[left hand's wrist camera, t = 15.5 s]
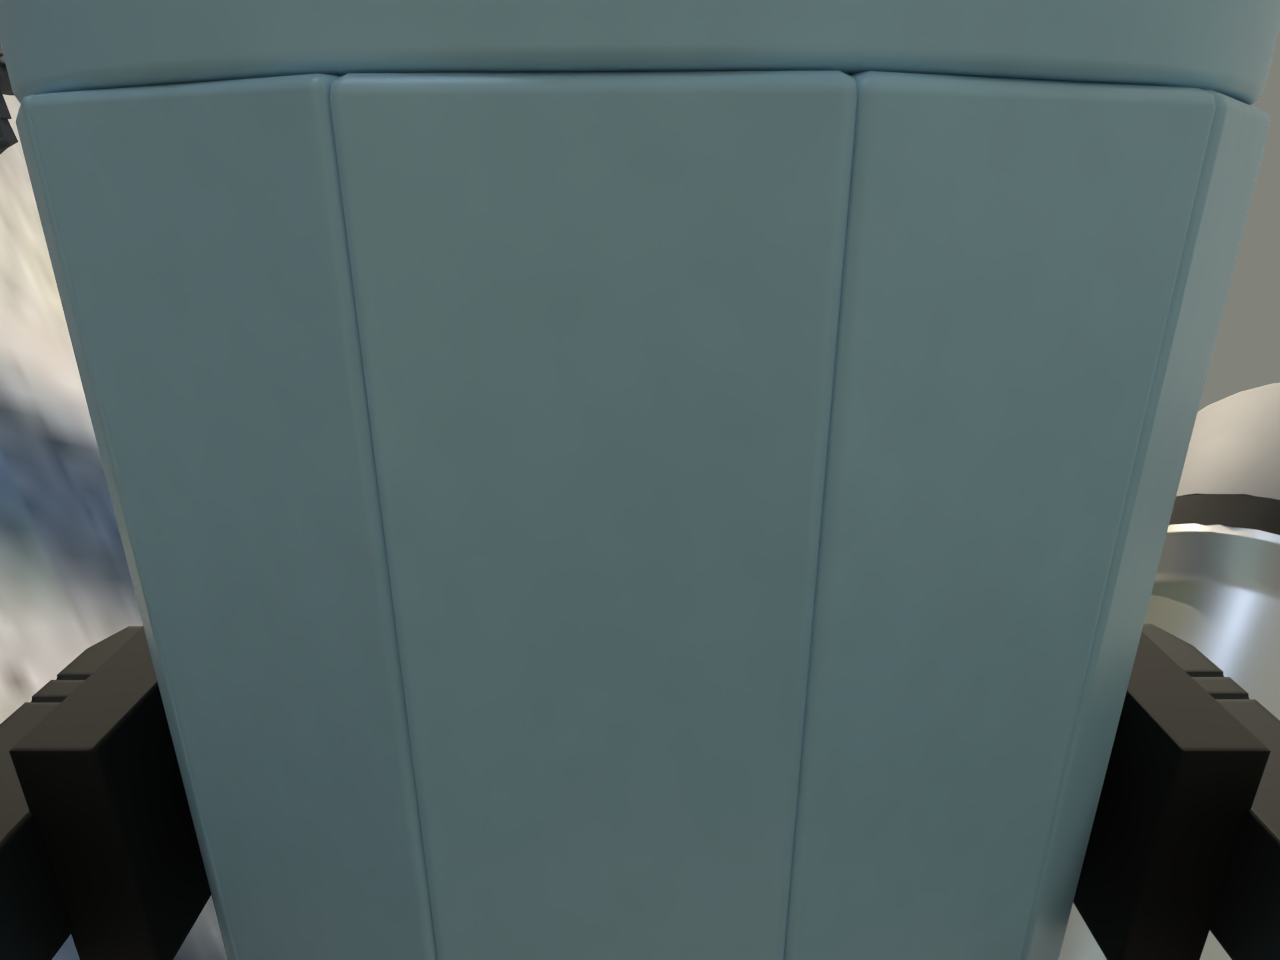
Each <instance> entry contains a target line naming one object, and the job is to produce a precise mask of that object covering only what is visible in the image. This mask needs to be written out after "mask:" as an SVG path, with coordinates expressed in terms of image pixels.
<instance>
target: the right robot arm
mask: <svg viewBox="0 0 1280 960" xmlns="http://www.w3.org/2000/svg"><path fill="white" fill-rule="evenodd" d="M1144 624H1153V625H1155V626H1157V627H1159V628H1161V629H1163V630H1164V631H1166V632H1168V633H1170V634H1172V635H1174V636H1176V637H1178V638H1180V639H1181V640H1183V641H1185V642H1187V643H1189V644H1191V645H1193V646H1194V647H1195V648H1196V649H1198V650H1199V651H1200V652H1201V653H1202V654H1203V655H1205V656H1206V657H1207V658H1208V659H1209V660H1210V661H1212V662H1213V663H1214V664H1215V665H1216V666H1217V667H1218V668H1220V669H1221V670H1222V671H1223V675H1224V677H1230V678H1231V679H1232V680H1233V681H1235V682H1236V683H1237V684H1238V685H1239V686H1240V687H1242V688H1243V689H1244V690H1245V691H1246V692H1247V693H1249V699H1255V700H1257V701H1258V702H1259V703H1260V704H1261V705H1262V706H1264V707H1265V708H1266V709H1267V710H1268V711H1269V712H1270V713H1272V714H1273V715H1274V716H1275V717H1276V718H1277V719H1279V720H1280V383H1274V384H1269V385H1265V386H1262V387H1258V388H1254V389H1250V390H1246V391H1242V392H1239V393H1236V394H1234V395H1232V396H1229V397H1227V398H1225V399H1222V400H1220V401H1217V402H1215V403H1213V404H1210V405H1208V406H1207V407H1205V408H1204V409H1202V410H1200V411H1199V412H1197V416H1196V420H1195V424H1194V428H1193V432H1192V436H1191V439H1190V443H1189V447H1188V451H1187V455H1186V459H1185V463H1184V467H1183V471H1182V475H1181V479H1180V483H1179V487H1178V491H1177V495H1176V499H1175V503H1174V506H1173V510H1172V514H1171V518H1170V522H1169V526H1168V530H1167V534H1166V538H1165V542H1164V546H1163V550H1162V554H1161V558H1160V562H1159V566H1158V570H1157V573H1156V577H1155V581H1154V585H1153V589H1152V593H1151V597H1150V601H1149V605H1148V609H1147V613H1146V617H1145V621H1144ZM1059 960H1107V959H1106V957H1105V956H1104V954H1103V952H1102V951H1101V949H1100V947H1099V945H1098V944H1097V942H1096V940H1095V939H1094V937H1093V935H1092V934H1091V932H1090V930H1089V928H1088V927H1087V925H1086V923H1085V922H1084V920H1083V918H1082V917H1081V915H1080V913H1079V911H1078V910H1077V908H1076V906H1075V905H1074V903H1073V904H1072V908H1071V912H1070V916H1069V920H1068V924H1067V928H1066V932H1065V936H1064V940H1063V944H1062V948H1061V952H1060V956H1059ZM1200 960H1232V959H1231V958H1230V957H1229V955H1228V954H1227V953H1226V951H1225V950H1224V949H1223V947H1222V946H1221V945H1220V943H1219V942H1218V940H1217V939H1216V938H1215V936H1214V935H1213V934H1212V932H1211V931H1209V934H1208V937H1207V939H1206V942H1205V945H1204V948H1203V951H1202V954H1201V957H1200Z"/></svg>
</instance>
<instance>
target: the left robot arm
mask: <svg viewBox="0 0 1280 960" xmlns="http://www.w3.org/2000/svg"><path fill="white" fill-rule="evenodd" d="M210 896H211V891H210V887H209V883H208V879H207V875H206V871H205V867H204V863H203V859H202V855H201V851H200V847H199V843H198V839H197V835H196V832H195V828H194V824H193V820H192V816H191V812H190V808H189V804H188V800H187V796H186V792H185V788H184V784H183V780H182V776H181V772H180V768H179V764H178V760H177V756H176V753H175V749H174V745H173V741H172V737H171V733H170V729H169V725H168V721H167V717H166V713H165V709H164V705H163V701H162V697H161V693H160V689H159V685H158V681H157V678H156V674H155V670H154V666H153V662H152V658H151V654H150V650H149V646H148V642H147V638H146V634H145V630H144V626H143V627H127V628H125V629H123V630H121V631H119V632H118V633H116V634H114V635H112V636H110V637H108V638H106V639H104V640H103V641H101V642H99V643H97V644H95V645H93V646H91V647H90V648H88V649H86V650H85V651H84V652H83V653H82V654H81V655H79V656H78V657H77V658H76V659H75V660H74V661H73V662H71V663H70V664H69V665H68V666H67V667H66V668H64V669H63V670H62V671H61V672H60V673H59V674H58V675H57V680H51V681H50V682H48V683H47V684H46V685H45V686H44V687H43V688H42V689H40V690H39V691H38V692H37V693H36V694H35V695H34V696H32V701H31V703H24V704H23V705H22V706H21V707H20V708H19V709H17V710H16V711H15V712H14V713H13V714H12V715H11V716H9V717H8V718H7V719H6V720H5V721H4V722H3V723H1V724H0V960H52V958H53V957H54V956H55V954H56V953H57V952H58V950H59V949H60V947H61V946H62V945H63V943H64V942H65V941H66V939H67V938H68V937H69V935H70V934H72V937H73V940H74V943H75V946H76V949H77V952H78V955H79V958H80V960H173V959H174V957H175V955H176V954H177V952H178V950H179V948H180V947H181V945H182V943H183V942H184V940H185V938H186V937H187V935H188V933H189V931H190V930H191V928H192V926H193V925H194V923H195V921H196V920H197V918H198V916H199V914H200V913H201V911H202V909H203V908H204V906H205V904H206V903H207V901H208V899H209V898H210ZM1073 903H1074V905H1075V906H1076V908H1077V910H1078V911H1079V913H1080V915H1081V917H1082V918H1083V920H1084V922H1085V923H1086V925H1087V927H1088V928H1089V930H1090V932H1091V934H1092V935H1093V937H1094V939H1095V940H1096V942H1097V944H1098V945H1099V947H1100V949H1101V951H1102V952H1103V954H1104V956H1105V957H1106V959H1107V960H1200V957H1201V954H1202V951H1203V948H1204V945H1205V942H1206V939H1207V937H1208V934H1209V931H1211V932H1212V934H1213V935H1214V936H1215V938H1216V939H1217V940H1218V942H1219V943H1220V945H1221V946H1222V947H1223V949H1224V950H1225V951H1226V953H1227V954H1228V955H1229V957H1230V958H1231V959H1232V960H1280V720H1279V719H1277V718H1276V717H1275V716H1274V715H1273V714H1272V713H1270V712H1269V711H1268V710H1267V709H1266V708H1265V707H1264V706H1262V705H1261V704H1260V703H1259V702H1258V701H1257V700H1255V699H1249V693H1247V692H1246V691H1245V690H1244V689H1243V688H1242V687H1240V686H1239V685H1238V684H1237V683H1236V682H1235V681H1233V680H1232V679H1231V678H1230V677H1224V675H1223V671H1222V670H1221V669H1220V668H1218V667H1217V666H1216V665H1215V664H1214V663H1213V662H1212V661H1210V660H1209V659H1208V658H1207V657H1206V656H1205V655H1203V654H1202V653H1201V652H1200V651H1199V650H1198V649H1196V648H1195V647H1194V646H1193V645H1191V644H1189V643H1187V642H1185V641H1183V640H1181V639H1180V638H1178V637H1176V636H1174V635H1172V634H1170V633H1168V632H1166V631H1164V630H1163V629H1161V628H1159V627H1157V626H1155V625H1153V624H1144V625H1143V629H1142V633H1141V637H1140V640H1139V644H1138V648H1137V652H1136V656H1135V660H1134V664H1133V668H1132V672H1131V676H1130V680H1129V684H1128V688H1127V692H1126V696H1125V700H1124V704H1123V707H1122V711H1121V715H1120V719H1119V723H1118V727H1117V731H1116V735H1115V739H1114V743H1113V747H1112V751H1111V755H1110V759H1109V763H1108V767H1107V770H1106V774H1105V778H1104V782H1103V786H1102V790H1101V794H1100V798H1099V802H1098V806H1097V810H1096V814H1095V818H1094V822H1093V826H1092V830H1091V834H1090V837H1089V841H1088V845H1087V849H1086V853H1085V857H1084V861H1083V865H1082V869H1081V873H1080V877H1079V881H1078V885H1077V889H1076V893H1075V897H1074V901H1073Z"/></svg>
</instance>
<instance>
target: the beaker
mask: <svg viewBox="0 0 1280 960" xmlns="http://www.w3.org/2000/svg"><path fill="white" fill-rule="evenodd" d="M1279 30H1280V0H0V44H1V48H2V52H3V56H4V60H5V64H6V68H7V72H8V76H9V80H10V84H11V88H12V91H13V94H14V95H15V96H16V98H17V99H18V101H19V102H20V104H21V106H20V109H19V112H18V115H17V119H16V125H17V129H18V133H19V137H20V141H21V145H22V148H23V152H24V156H25V160H26V164H27V168H28V172H29V176H30V180H31V184H32V188H33V192H34V196H35V200H36V204H37V208H38V212H39V216H40V220H41V223H42V227H43V231H44V235H45V239H46V243H47V247H48V251H49V255H50V259H51V263H52V267H53V271H54V275H55V279H56V283H57V287H58V291H59V295H60V298H61V302H62V306H63V310H64V314H65V318H66V322H67V326H68V330H69V334H70V338H71V342H72V346H73V350H74V354H75V358H76V362H77V366H78V370H79V374H80V377H81V381H82V385H83V389H84V393H85V397H86V401H87V405H88V409H89V413H90V417H91V421H92V425H93V429H94V433H95V437H96V441H97V445H98V449H99V452H100V456H101V460H102V464H103V468H104V472H105V476H106V480H107V484H108V488H109V492H110V496H111V500H112V504H113V508H114V512H115V516H116V520H117V524H118V527H119V531H120V535H121V539H122V543H123V547H124V551H125V555H126V559H127V563H128V567H129V571H130V575H131V579H132V583H133V587H134V591H135V595H136V599H137V603H138V606H139V610H140V614H141V618H142V622H143V626H144V630H145V634H146V638H147V642H148V646H149V650H150V654H151V658H152V662H153V666H154V670H155V674H156V678H157V681H158V685H159V689H160V693H161V697H162V701H163V705H164V709H165V713H166V717H167V721H168V725H169V729H170V733H171V737H172V741H173V745H174V749H175V753H176V756H177V760H178V764H179V768H180V772H181V776H182V780H183V784H184V788H185V792H186V796H187V800H188V804H189V808H190V812H191V816H192V820H193V824H194V828H195V832H196V835H197V839H198V843H199V847H200V851H201V855H202V859H203V863H204V867H205V871H206V875H207V879H208V883H209V887H210V891H211V895H212V899H213V903H214V907H215V910H216V914H217V918H218V922H219V926H220V930H221V934H222V938H223V942H224V946H225V950H226V954H227V958H228V960H1059V956H1060V952H1061V948H1062V944H1063V940H1064V936H1065V932H1066V928H1067V924H1068V920H1069V916H1070V912H1071V908H1072V904H1073V901H1074V897H1075V893H1076V889H1077V885H1078V881H1079V877H1080V873H1081V869H1082V865H1083V861H1084V857H1085V853H1086V849H1087V845H1088V841H1089V837H1090V834H1091V830H1092V826H1093V822H1094V818H1095V814H1096V810H1097V806H1098V802H1099V798H1100V794H1101V790H1102V786H1103V782H1104V778H1105V774H1106V770H1107V767H1108V763H1109V759H1110V755H1111V751H1112V747H1113V743H1114V739H1115V735H1116V731H1117V727H1118V723H1119V719H1120V715H1121V711H1122V707H1123V704H1124V700H1125V696H1126V692H1127V688H1128V684H1129V680H1130V676H1131V672H1132V668H1133V664H1134V660H1135V656H1136V652H1137V648H1138V644H1139V640H1140V637H1141V633H1142V629H1143V625H1144V621H1145V617H1146V613H1147V609H1148V605H1149V601H1150V597H1151V593H1152V589H1153V585H1154V581H1155V577H1156V573H1157V570H1158V566H1159V562H1160V558H1161V554H1162V550H1163V546H1164V542H1165V538H1166V534H1167V530H1168V526H1169V522H1170V518H1171V514H1172V510H1173V506H1174V503H1175V499H1176V495H1177V491H1178V487H1179V483H1180V479H1181V475H1182V471H1183V467H1184V463H1185V459H1186V455H1187V451H1188V447H1189V443H1190V439H1191V436H1192V432H1193V428H1194V424H1195V420H1196V416H1197V412H1198V408H1199V404H1200V400H1201V396H1202V392H1203V388H1204V384H1205V380H1206V376H1207V372H1208V369H1209V365H1210V361H1211V357H1212V353H1213V349H1214V345H1215V341H1216V337H1217V333H1218V329H1219V325H1220V321H1221V317H1222V313H1223V309H1224V305H1225V301H1226V297H1227V293H1228V290H1229V286H1230V282H1231V278H1232V274H1233V270H1234V266H1235V262H1236V258H1237V254H1238V250H1239V246H1240V242H1241V238H1242V234H1243V230H1244V227H1245V223H1246V219H1247V215H1248V211H1249V207H1250V203H1251V199H1252V195H1253V191H1254V187H1255V183H1256V179H1257V175H1258V171H1259V167H1260V164H1261V160H1262V156H1263V152H1264V148H1265V144H1266V140H1267V136H1268V132H1269V128H1270V124H1271V122H1270V118H1269V113H1267V112H1265V111H1262V110H1260V109H1258V108H1255V107H1253V106H1250V105H1251V104H1253V103H1254V102H1256V101H1257V100H1258V98H1259V97H1260V95H1261V94H1262V93H1263V91H1264V90H1265V87H1266V83H1267V78H1268V74H1269V70H1270V66H1271V62H1272V58H1273V54H1274V50H1275V46H1276V42H1277V38H1278V34H1279Z"/></svg>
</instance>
